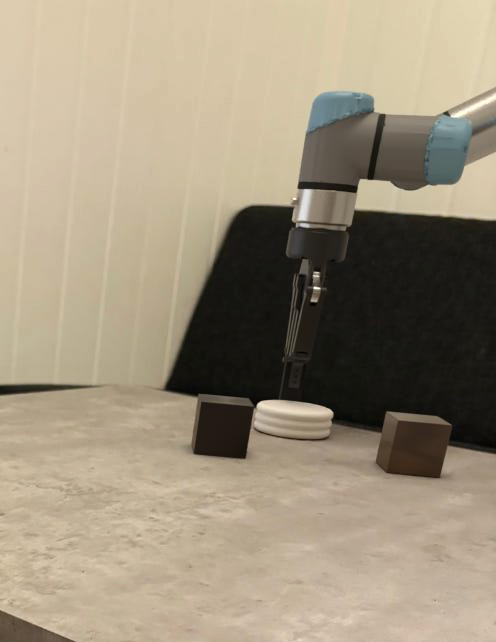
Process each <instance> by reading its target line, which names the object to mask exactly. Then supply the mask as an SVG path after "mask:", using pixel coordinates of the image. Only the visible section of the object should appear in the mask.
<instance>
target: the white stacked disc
mask: <svg viewBox="0 0 496 642" xmlns="http://www.w3.org/2000/svg"><path fill="white" fill-rule="evenodd" d="M255 412H256V413H255V414H254V417H255V420H254V422H253V427H254V428H255V430H257V431H259V432H261V433H264V434H268V435H271V436H276V437H281V438H289V439H296V440H322V439H326V438H327V437H329V436H330V434H331V429H330V428H331V427H332V425H333V422H332V419H333V418H334V412H333V411H332V409H330V408H327V407H326V406H323V405H319V404H316V403H315V404H314V403H309V402H304V401H300V402H296V401H286V400H279V399H267V400H261V401H259V402H258V403H257V404H256V411H255Z"/></svg>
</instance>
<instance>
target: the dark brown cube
mask: <svg viewBox="0 0 496 642" xmlns="http://www.w3.org/2000/svg"><path fill="white" fill-rule="evenodd" d="M254 410H255V405H254V403H253V402H252V401H251V400H250V398H249V397H238V396H237V397H236V396H228V395H227V396H225V395H215V394H207V393H198V395H197V402H196V408H195V415H194V422H193V429H192V437H191V448H192V451H193V454H194V455H202V456H203V455H205V456H215V457H223V458H224V457H225V458H235V459H244V460H245V459H247V454H248V449H249V441H250V435H251V430H252V424H253V416H254V412H255V411H254Z"/></svg>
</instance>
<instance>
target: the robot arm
mask: <svg viewBox="0 0 496 642" xmlns="http://www.w3.org/2000/svg"><path fill="white" fill-rule="evenodd" d="M375 109H376V108H375V98H374V97H373V95H371V94H369V93H365V92H356V91H355V92H354V91H349V90H348V91H346V90H331V91H324V92H321V93H319V94H318V95H316V97H315V98H314V99H313V101H312V104H311V108H310V113H309V118H308V122H307V127H306V131H305V133H304V134H305V135H304V142H303V149H302V155H301V161H300V167H299V174H298V181H297V182H298V183H297V190H296V196H293V197H291V198H290V200H289V204H290V205H291V206H295V207H293V211H292V216H291V217H292V218H291V222H293V223H295V227H291V229H290V230H289V233H288V240H287V245H286V250H285V254H286V257H287V258H289V259H297V260H302V262H301V265H300V269H299V273H294V276H293V282H292V298H291V305H290V311H289V312H290V313H289V319H288V327H287V333H286V334H287V335H286V342H285V347H284V350H283V351H284V354H285V356H282V363H284V366H283V372H282V378H281V383H280V390H279V395H278V400H286V401H296V402H301V398H302V392H303V387H304V381H305V376H306V372H307V365H308V363H310V362H311V359H312V357H313V350H314V345H315V341H316V337H317V333H318V332H317V331H318V328H319V323H320V319H321V315H322V310H323V307H324V306H323V305H324V303H325V299H326V295H328V285H329V278H330V277H329V276H326V269H327V262H331V263H341V262H343V261H344V260H345V258H346V253H347V248H348V243H349V239H350V234H349V232H348V231H346V230H347V228H350V226H352V224H353V219H354V214H355V208H356V203H357V198H358V190H359V184H360V181H361V180H366V181H379V182H380V181H381V182H390V184H391V185H393V186H394V187H396V188H397V189H400V190H403V191H408V192H409V191H410V192H414V191H417V190H419V189H423V188H425V187H427V186H433V187H436V186H439V185H440V186H454V185H455V184H457V183H459V181H460V180H461V178H462V176H463V173H464V169H465V167H467V166H468V165H470V164H473V163H475V162H477V161H480V160H482V159H483V158H487V157H488V156H490V155H492V154H495V153H496V86H494V87H493V88H490V89H488V90H486V91H484V92H482V93H480V94H478V95H476V96H474V97H472V98H470V99H467V100H466V101H463V102H462V103H459V104H457V105H455V106H453V107H451V108H449V109H447V110H445V111H443V112H441V113H438V114H436V115H416V114H415V115H414V114H413V115H412V114H391V113H390V114H387V113H381V112H377V111H375Z"/></svg>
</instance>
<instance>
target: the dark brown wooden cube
mask: <svg viewBox="0 0 496 642" xmlns="http://www.w3.org/2000/svg"><path fill="white" fill-rule="evenodd" d="M452 430H453V424H451V423H449V422H448V421H446V420H445V419H443V418H441V417H439V416H438V415H429V414H419V413H418V414H416V413H407V412H396V411H386V412H385V415H384V421H383V425H382V430H381V435H380V440H379V443H378V449H377V453H376V458H375V463H376V464H377V465H378V466H379V467H381V468H382V469H383V470H384V471H385V472H386V473H387V474H395V475H397V474H399V475H407V476H416V477H417V476H418V477H426V478H427V477H428V478H437V479H438V478H441V475H442V471H443V468H444V467H443V466H444V462H445V458H446V454H447V450H448V446H449V443H450V437H451V434H452Z"/></svg>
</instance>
